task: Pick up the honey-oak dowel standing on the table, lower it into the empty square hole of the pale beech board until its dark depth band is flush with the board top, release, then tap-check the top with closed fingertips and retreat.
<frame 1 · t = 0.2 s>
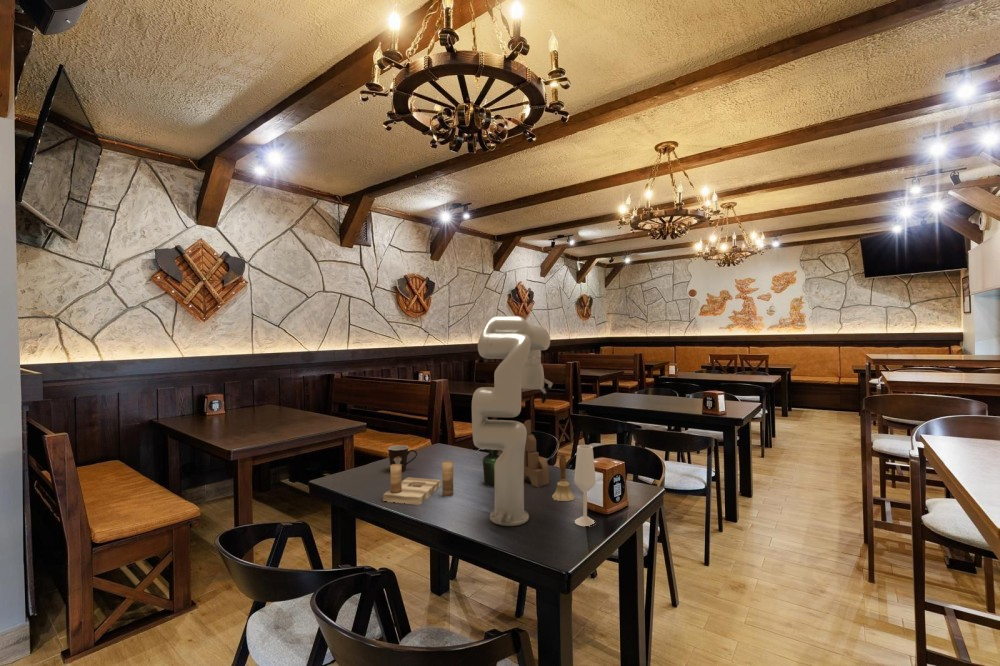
hand: (531, 402, 192), 31 cm above the table, tool pointing down, fingers open, 9 cm apart
peg: (447, 494, 171), on the table
champagne flute: (585, 522, 146), on the table
wooden toy: (530, 481, 187), on the table
potion bottle: (492, 484, 184), on the table
board: (413, 493, 172), on the table
coffee mug: (401, 471, 201), on the table
hand bell: (563, 498, 168), on the table
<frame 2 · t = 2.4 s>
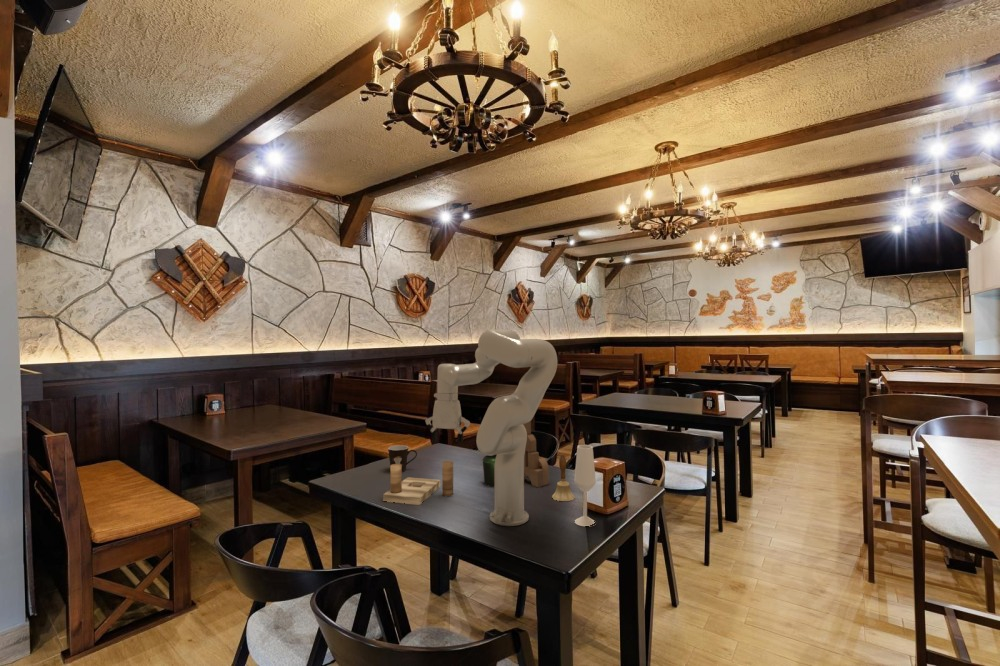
hand: (447, 443, 171), 19 cm above the table, tool pointing down, fingers open, 9 cm apart
nothing on the table moved.
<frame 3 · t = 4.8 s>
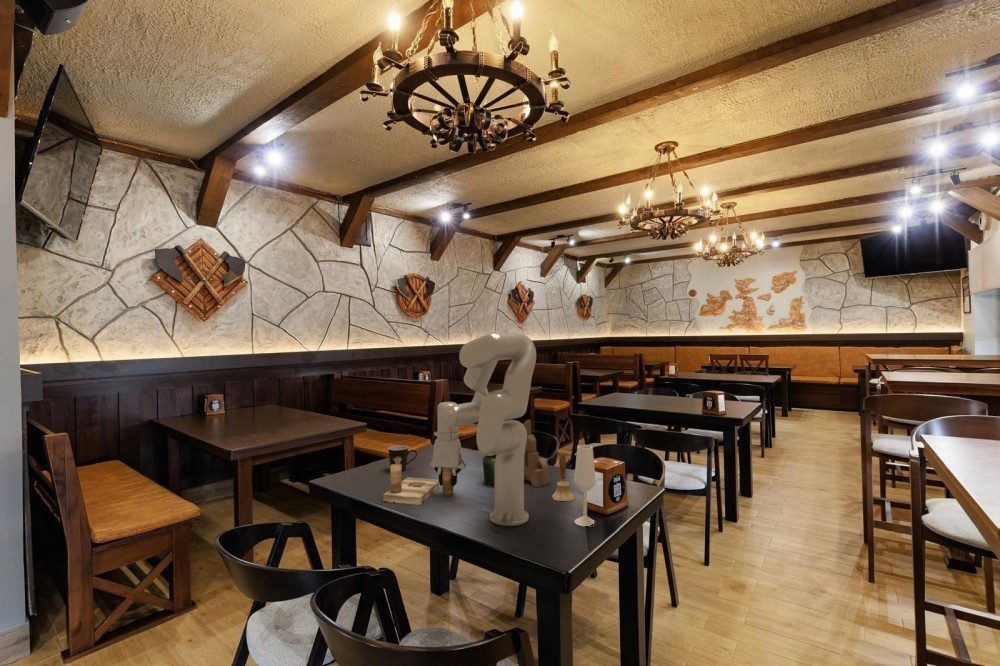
hand: (447, 484, 171), 4 cm above the table, tool pointing down, fingers closed on peg, 4 cm apart
peg: (447, 494, 171), on the table, touching gripper
everything else where it was.
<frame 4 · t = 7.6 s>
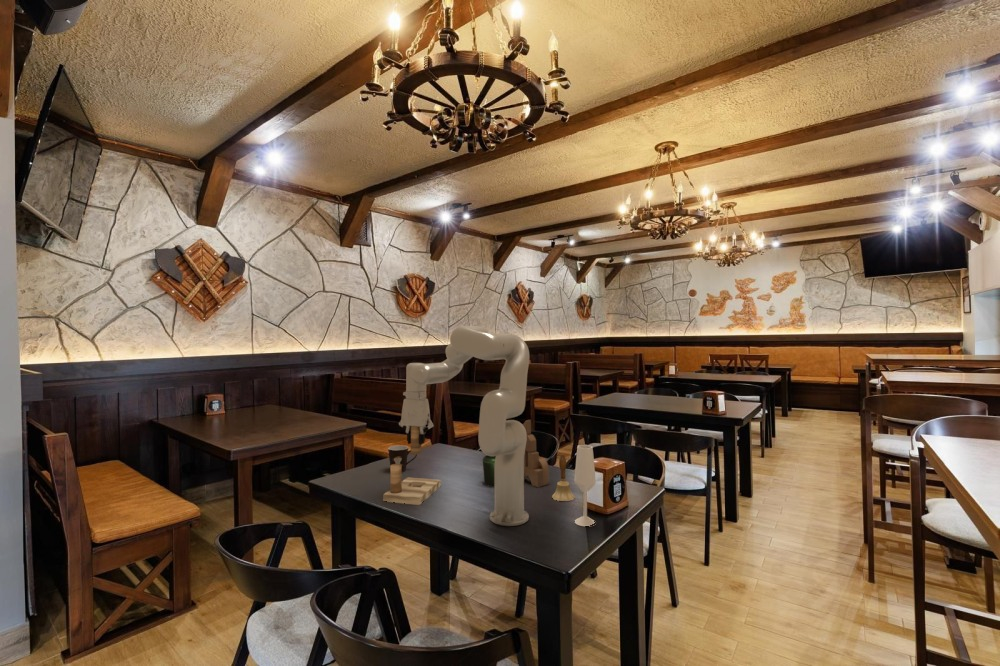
hand: (415, 443, 175), 18 cm above the table, tool pointing down, fingers closed on peg, 4 cm apart
peg: (415, 452, 175), point 14 cm above the table, touching gripper
everything else where it was.
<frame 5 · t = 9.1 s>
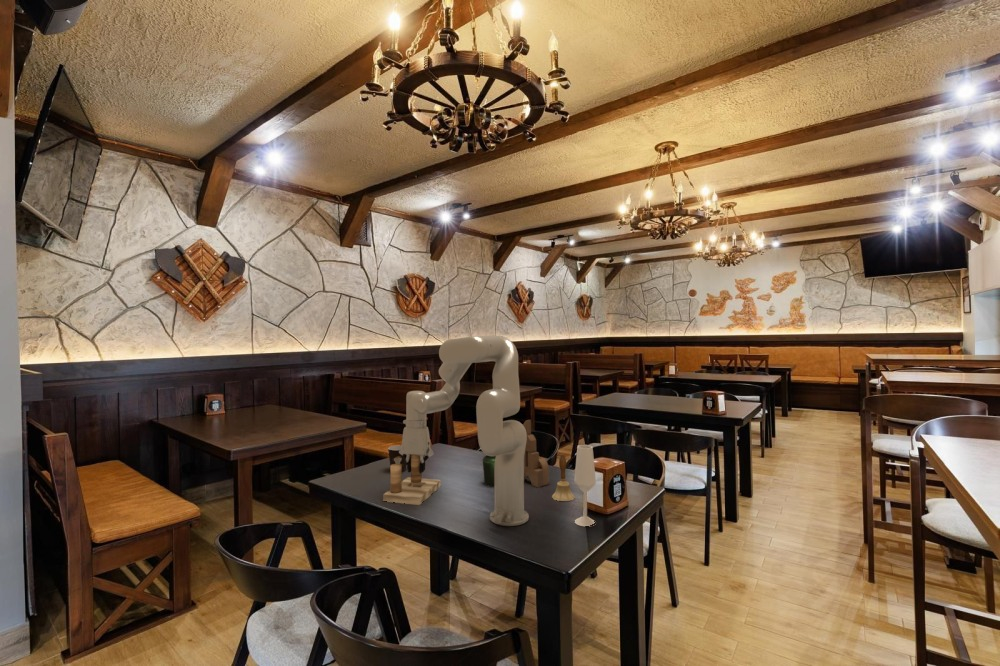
hand: (416, 471, 175), 7 cm above the table, tool pointing down, fingers closed on peg, 4 cm apart
peg: (416, 481, 175), point 4 cm above the table, touching gripper
everything else where it was.
when the fingers open (5 cm above the table, at t = 10.3 s): peg stays where it is, resting in board.
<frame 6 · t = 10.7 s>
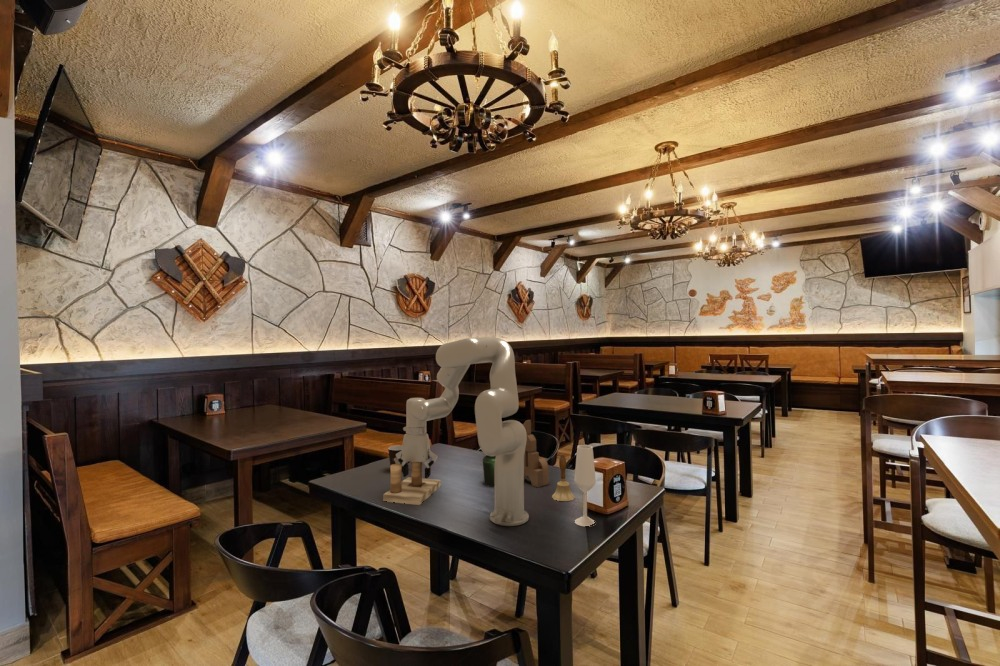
hand: (416, 476, 175), 6 cm above the table, tool pointing down, fingers open, 8 cm apart
peg: (416, 491, 175), resting in board
everything else where it was.
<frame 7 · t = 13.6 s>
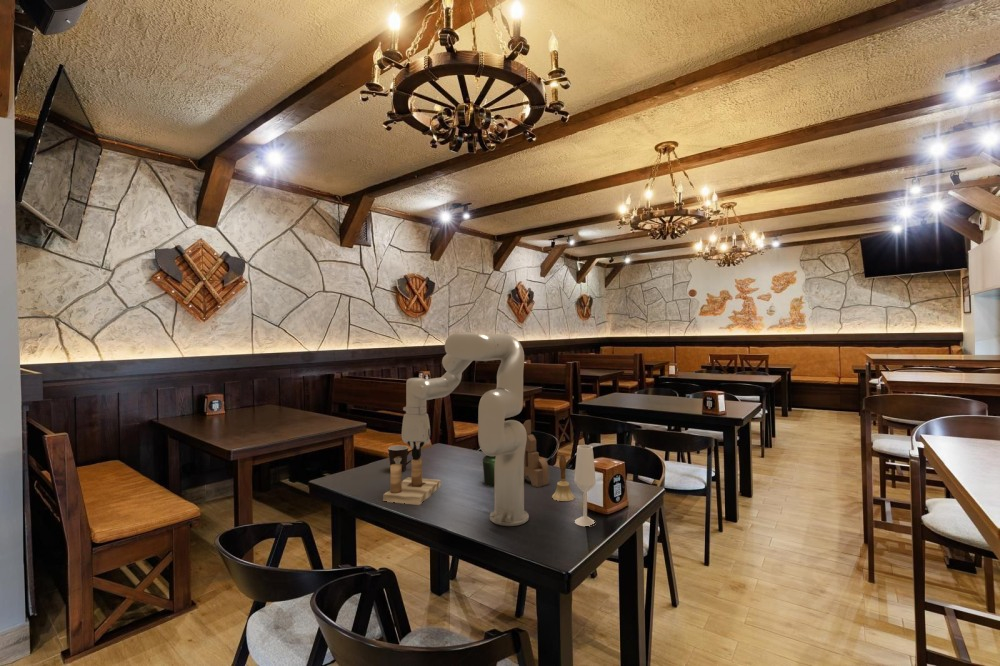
hand: (416, 458, 175), 12 cm above the table, tool pointing down, fingers closed
nothing on the table moved.
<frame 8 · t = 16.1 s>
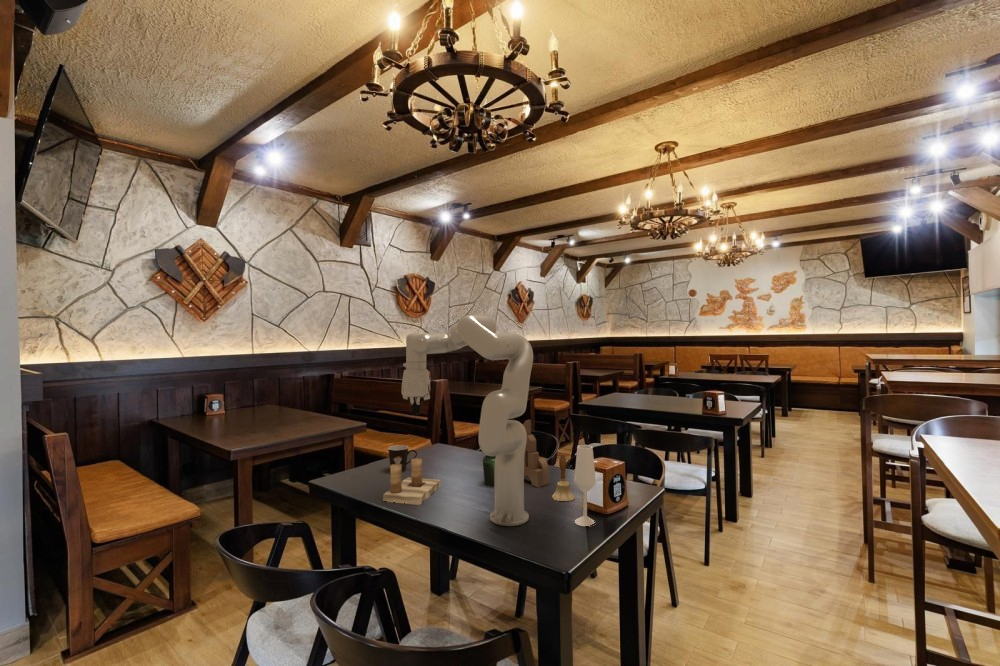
hand: (416, 414, 175), 29 cm above the table, tool pointing down, fingers closed
nothing on the table moved.
at the end: peg 0.1 cm from the target spot on the board, point 0.0 cm above the board's base; peg tilted 0°; the gripper is holding nothing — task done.
